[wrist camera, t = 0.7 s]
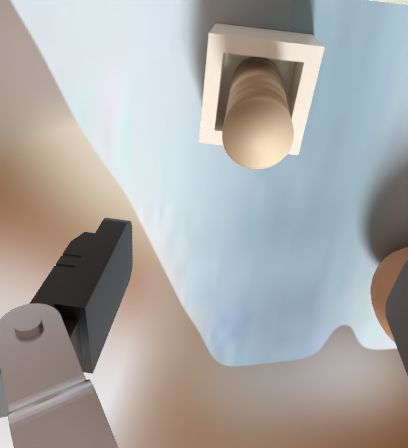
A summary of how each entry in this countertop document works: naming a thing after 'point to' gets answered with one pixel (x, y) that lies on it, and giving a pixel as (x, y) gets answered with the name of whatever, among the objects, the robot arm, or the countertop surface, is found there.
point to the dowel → (257, 116)
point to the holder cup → (267, 48)
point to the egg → (386, 284)
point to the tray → (394, 1)
